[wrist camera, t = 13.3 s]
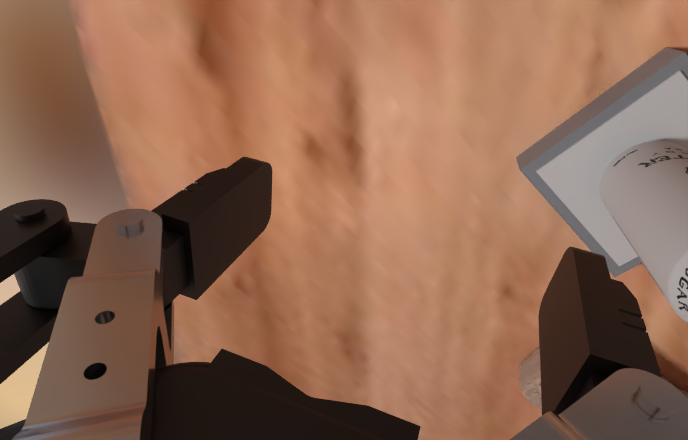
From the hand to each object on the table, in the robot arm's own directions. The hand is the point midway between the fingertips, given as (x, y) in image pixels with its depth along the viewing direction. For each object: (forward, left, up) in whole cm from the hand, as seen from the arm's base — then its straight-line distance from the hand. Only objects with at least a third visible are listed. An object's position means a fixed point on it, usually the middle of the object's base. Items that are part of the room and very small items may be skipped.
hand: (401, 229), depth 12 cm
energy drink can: (-6, +15, -23) cm, 28 cm away
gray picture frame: (-6, +15, -26) cm, 31 cm away
